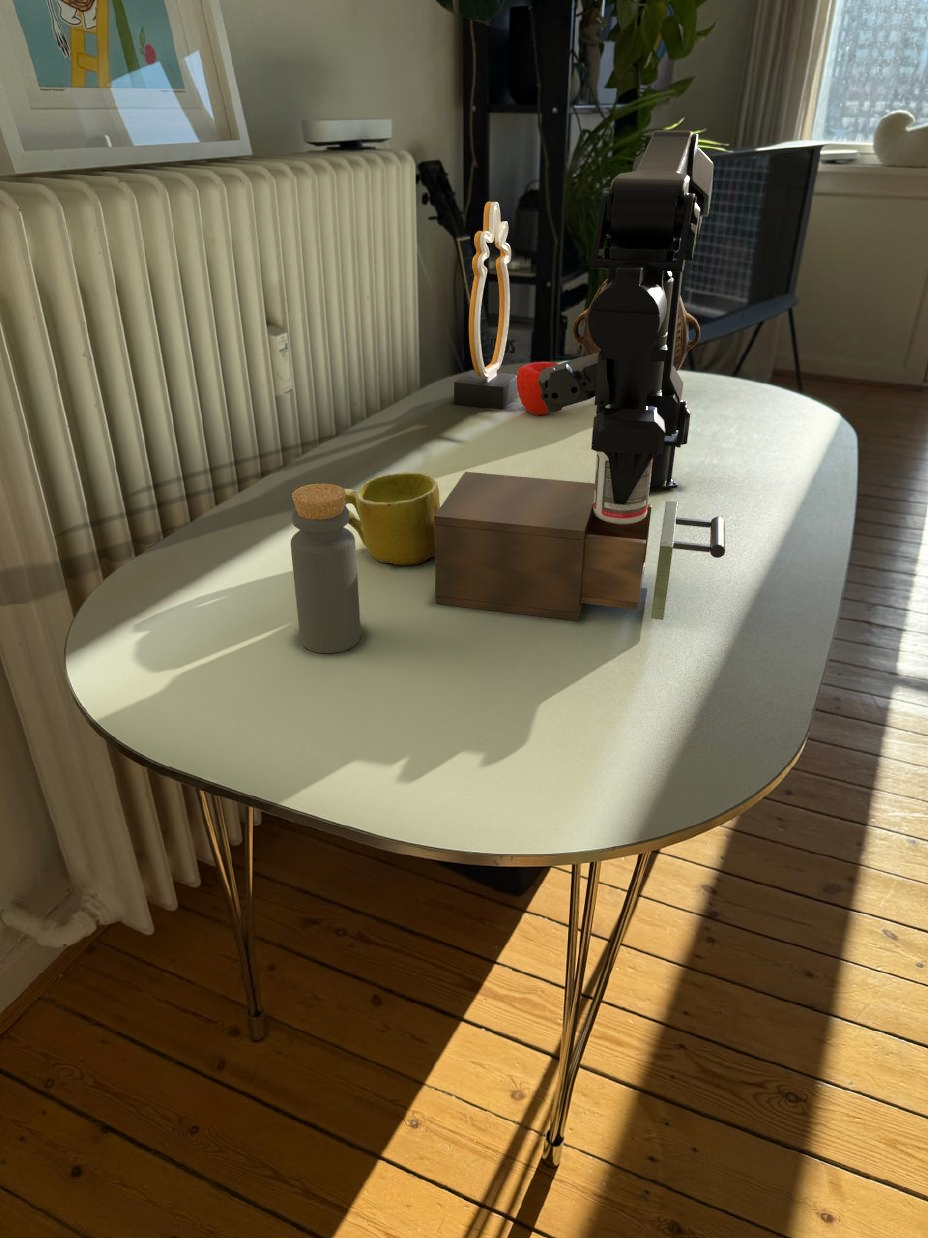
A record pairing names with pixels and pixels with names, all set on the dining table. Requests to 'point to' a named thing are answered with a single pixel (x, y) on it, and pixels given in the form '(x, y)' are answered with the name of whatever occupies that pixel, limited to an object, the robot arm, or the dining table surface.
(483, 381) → the white statuette
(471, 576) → the cabinet
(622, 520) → the pill bottle
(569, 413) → the dining table surface
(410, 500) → the mug
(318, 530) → the bottle
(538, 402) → the apple
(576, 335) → the vase
